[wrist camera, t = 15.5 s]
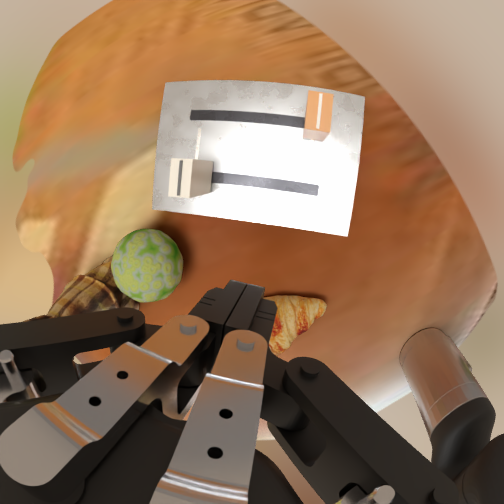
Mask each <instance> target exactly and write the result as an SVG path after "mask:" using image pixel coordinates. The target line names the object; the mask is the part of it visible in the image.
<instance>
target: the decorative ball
mask: <svg viewBox="0 0 504 504" xmlns="http://www.w3.org/2000/svg"><path fill="white" fill-rule="evenodd" d="M111 270H112V274H113V277H114V280H115V283H116V285H117V287H118V288H119V289H120V291H121V292H123V293H124V294H126V295H127V296H129V297H130V298H132V299H133V300H135V301H138V302H153V301H158V300H161V299H165V298H167V297H168V296H169V295H170V294H171V293H172V292H173V291H174V289H175V288H176V286H177V285H178V284H179V283H180V281H181V278H182V271H183V257H182V255H181V253H180V251H179V248H178V246H177V244H176V243H175V242H174V241H173V240H172V239H171V238H170V237H169V236H168V235H166V234H165V233H163V232H162V231H160V230H155V229H140V230H136V231H133V232H131V233H129V234H128V235H126V236H125V237H124V238H123V239H122V240H121V241H119V243H118V244H117V246H116V249H115V251H114V254H113V258H112V262H111Z"/></svg>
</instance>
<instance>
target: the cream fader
mask: <svg viewBox="0 0 504 504" xmlns="http://www.w3.org/2000/svg"><path fill="white" fill-rule="evenodd" d="M212 169H213V161H206V160H197V159H182V158H171V166H170V178H169V192H168V196H169V197H180V198H193V197H197V196H201V195H205V194H209V193H210V189H211V179H212Z"/></svg>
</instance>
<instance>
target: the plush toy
mask: <svg viewBox="0 0 504 504" xmlns="http://www.w3.org/2000/svg"><path fill="white" fill-rule="evenodd" d="M112 258H113V256H112V257H109V258H108V259H106V260H105V261H104V262H103V263H102V265H100V266H98V267H96V268H95V269H93V270H91V271H89V272H88V273H87V274H85V275H78V276H75V277H74V278H73V279H72V280H71V281H70V282H69V283H68V284H67V285H66V287H65V288H64V290H63V292H62V293H61V295H60V296H59V298H58V299H57V300H56V302H55V303H54V304H53V305H52V307H51V308H50V310H49V312H48V314H47V315H42V316H39V317H35V318H32V319H29V320H26V321H34V320H42V319H49V318H56V317H63V316H70V315H77V314H83V313H90V312H96V311H103V310H109V309H115V308H122V307H129V308H134V309H137V310H139V304H138V301H135V300H133V299H132V298H130V297H129V296H127V295H126V294H124V293H123V292H121V291H120V289H119V288H118V287H117V285H116V283H115V280H114V277H113V274H112V270H111V262H112ZM26 321H23V322H26ZM73 360H74V358H73Z"/></svg>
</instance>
